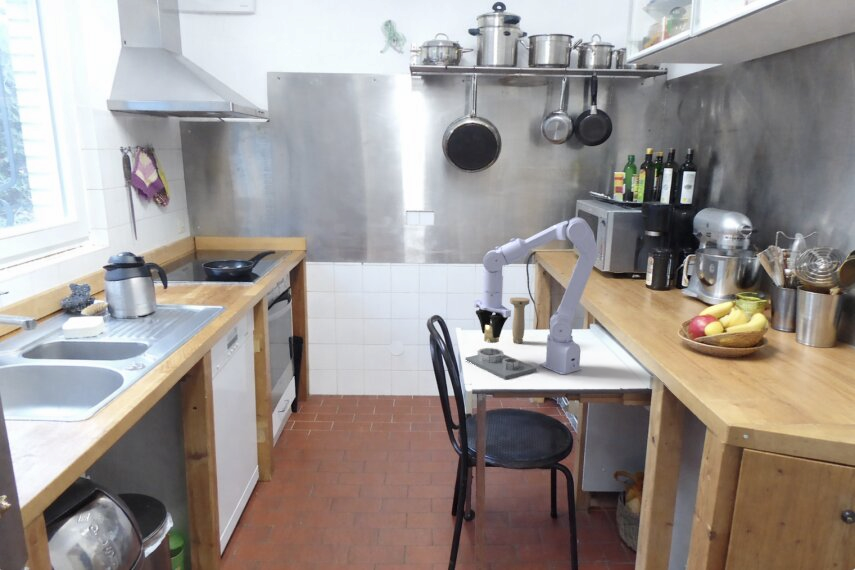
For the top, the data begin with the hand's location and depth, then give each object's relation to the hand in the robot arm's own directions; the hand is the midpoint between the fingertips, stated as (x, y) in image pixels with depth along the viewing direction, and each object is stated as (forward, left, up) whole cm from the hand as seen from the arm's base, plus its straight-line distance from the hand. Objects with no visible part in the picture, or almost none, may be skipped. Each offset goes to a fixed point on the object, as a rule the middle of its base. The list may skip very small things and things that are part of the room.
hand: (491, 335), depth 170 cm
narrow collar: (-9, 0, -8) cm, 12 cm away
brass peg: (0, 0, -2) cm, 2 cm away
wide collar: (0, 0, -8) cm, 8 cm away
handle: (+9, -20, -8) cm, 24 cm away
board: (-5, 0, -8) cm, 9 cm away
